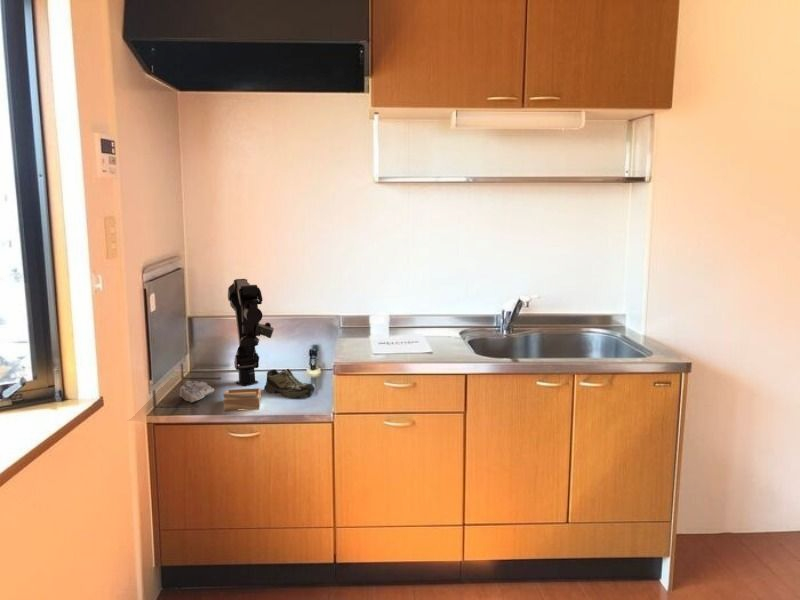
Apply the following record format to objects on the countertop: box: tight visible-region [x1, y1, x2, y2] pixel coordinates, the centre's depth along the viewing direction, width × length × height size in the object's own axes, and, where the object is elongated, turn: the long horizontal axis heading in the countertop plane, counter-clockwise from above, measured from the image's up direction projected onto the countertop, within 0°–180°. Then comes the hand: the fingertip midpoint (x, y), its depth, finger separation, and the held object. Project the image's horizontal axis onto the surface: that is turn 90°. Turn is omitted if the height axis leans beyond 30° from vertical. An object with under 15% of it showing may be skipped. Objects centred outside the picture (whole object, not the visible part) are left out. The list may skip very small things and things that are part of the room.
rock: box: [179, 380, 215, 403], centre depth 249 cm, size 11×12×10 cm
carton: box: [223, 387, 262, 411], centre depth 242 cm, size 12×12×4 cm
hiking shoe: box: [264, 368, 316, 399], centre depth 254 cm, size 8×21×9 cm, turn 65°
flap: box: [222, 392, 257, 400], centre depth 232 cm, size 6×11×1 cm
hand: (251, 359), depth 254 cm, fingers closed
